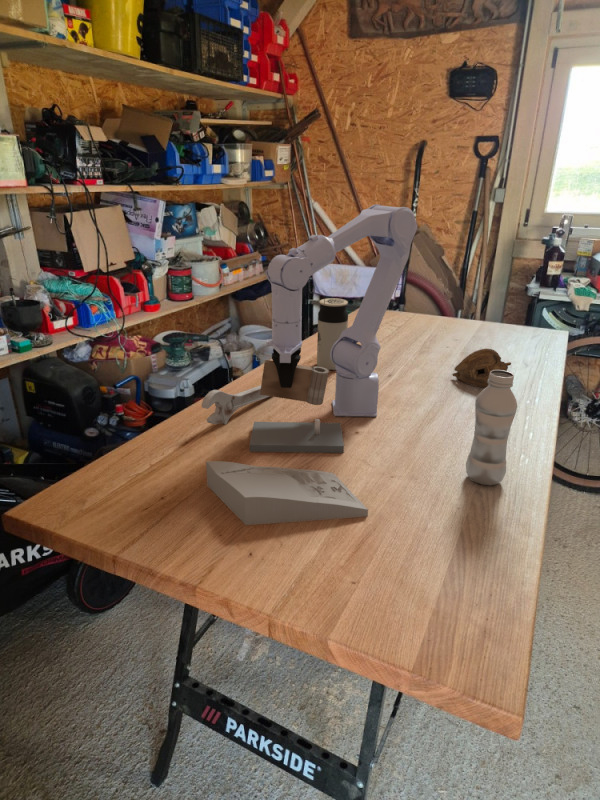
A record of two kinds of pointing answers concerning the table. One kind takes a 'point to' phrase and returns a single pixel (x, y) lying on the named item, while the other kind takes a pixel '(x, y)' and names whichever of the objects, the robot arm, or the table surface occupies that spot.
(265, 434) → the hinge board
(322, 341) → the travel mug
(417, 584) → the table surface
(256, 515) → the ramp
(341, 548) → the table surface
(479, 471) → the plastic bottle
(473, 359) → the lumpy brown dome
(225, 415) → the wrench
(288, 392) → the door
